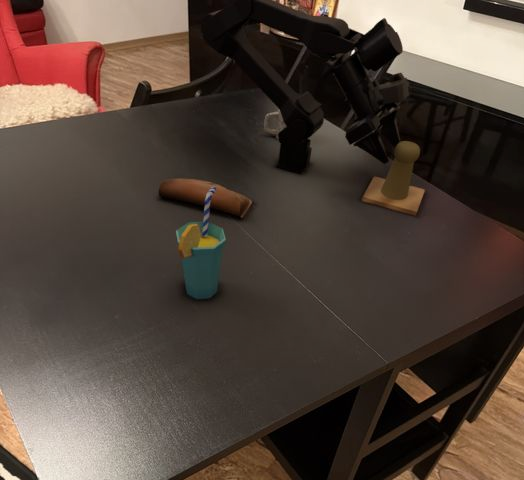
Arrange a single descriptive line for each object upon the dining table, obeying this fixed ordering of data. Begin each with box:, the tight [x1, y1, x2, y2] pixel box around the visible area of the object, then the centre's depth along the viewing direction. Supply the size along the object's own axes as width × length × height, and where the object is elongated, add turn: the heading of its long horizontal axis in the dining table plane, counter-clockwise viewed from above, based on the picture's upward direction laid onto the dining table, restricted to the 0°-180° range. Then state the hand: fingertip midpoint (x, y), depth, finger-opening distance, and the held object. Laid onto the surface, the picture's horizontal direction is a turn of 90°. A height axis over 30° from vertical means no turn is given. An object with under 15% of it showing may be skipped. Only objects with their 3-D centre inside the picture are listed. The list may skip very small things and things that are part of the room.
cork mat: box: [361, 176, 426, 217], centre depth 107 cm, size 12×11×1 cm
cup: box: [175, 187, 227, 300], centre depth 75 cm, size 14×8×15 cm, turn 170°
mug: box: [263, 108, 286, 140], centre depth 122 cm, size 10×7×7 cm, turn 98°
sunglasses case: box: [158, 178, 253, 219], centre depth 98 cm, size 18×7×7 cm
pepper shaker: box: [381, 140, 421, 200], centre depth 102 cm, size 6×6×11 cm
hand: (393, 154), depth 101 cm, fingers open, 9 cm apart
